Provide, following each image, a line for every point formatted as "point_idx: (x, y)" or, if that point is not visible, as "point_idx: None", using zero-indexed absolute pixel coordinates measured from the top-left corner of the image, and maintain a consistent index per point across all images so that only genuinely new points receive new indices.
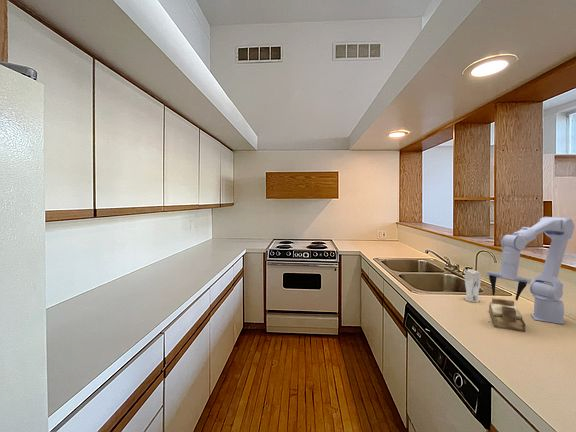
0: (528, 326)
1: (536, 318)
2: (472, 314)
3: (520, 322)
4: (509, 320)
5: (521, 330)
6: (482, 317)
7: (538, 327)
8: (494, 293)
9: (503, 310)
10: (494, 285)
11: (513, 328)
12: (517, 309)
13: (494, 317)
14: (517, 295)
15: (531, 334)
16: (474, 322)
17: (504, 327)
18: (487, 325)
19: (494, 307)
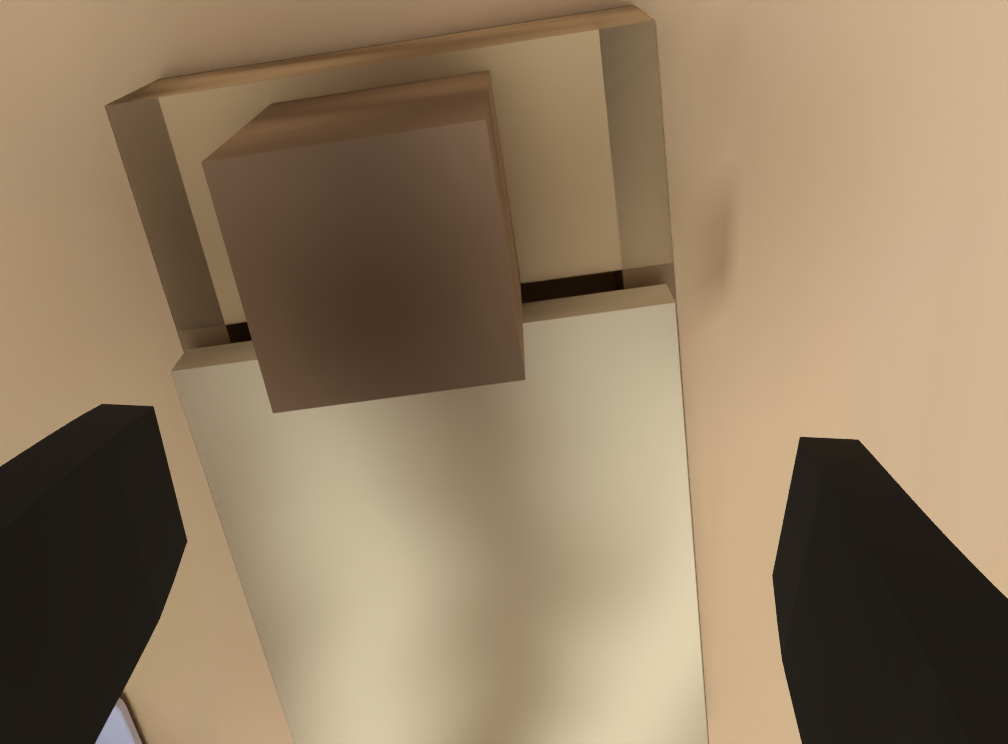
0: (156, 394)
1: (104, 734)
2: (948, 455)
3: (196, 165)
4: (377, 89)
5: (207, 73)
6: (802, 403)
7: (35, 434)
8: (820, 469)
9: (492, 153)
10: (993, 714)
11: (326, 57)
12: (297, 725)
13: (651, 175)
14: (11, 494)
15: (57, 14)
16: (964, 42)
17: (468, 35)
18: (744, 19)
19: (652, 628)
